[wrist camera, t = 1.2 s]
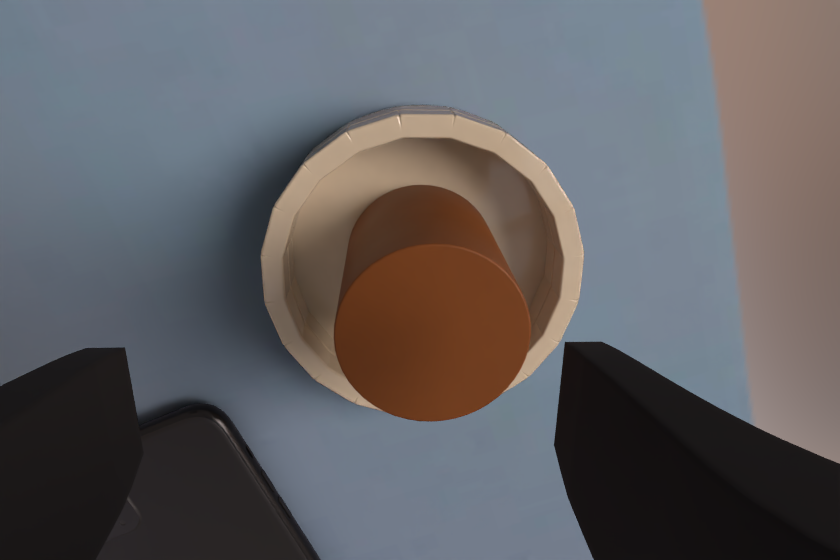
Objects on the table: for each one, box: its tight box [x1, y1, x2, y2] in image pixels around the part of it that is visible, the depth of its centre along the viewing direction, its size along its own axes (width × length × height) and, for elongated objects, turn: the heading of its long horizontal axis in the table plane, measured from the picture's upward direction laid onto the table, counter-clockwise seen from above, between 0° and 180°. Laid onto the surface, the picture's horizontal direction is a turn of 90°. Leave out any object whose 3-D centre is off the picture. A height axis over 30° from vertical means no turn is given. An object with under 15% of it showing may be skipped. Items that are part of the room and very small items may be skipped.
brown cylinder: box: [333, 185, 531, 421], centre depth 17 cm, size 4×4×6 cm
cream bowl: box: [261, 105, 584, 411], centre depth 19 cm, size 9×9×2 cm
